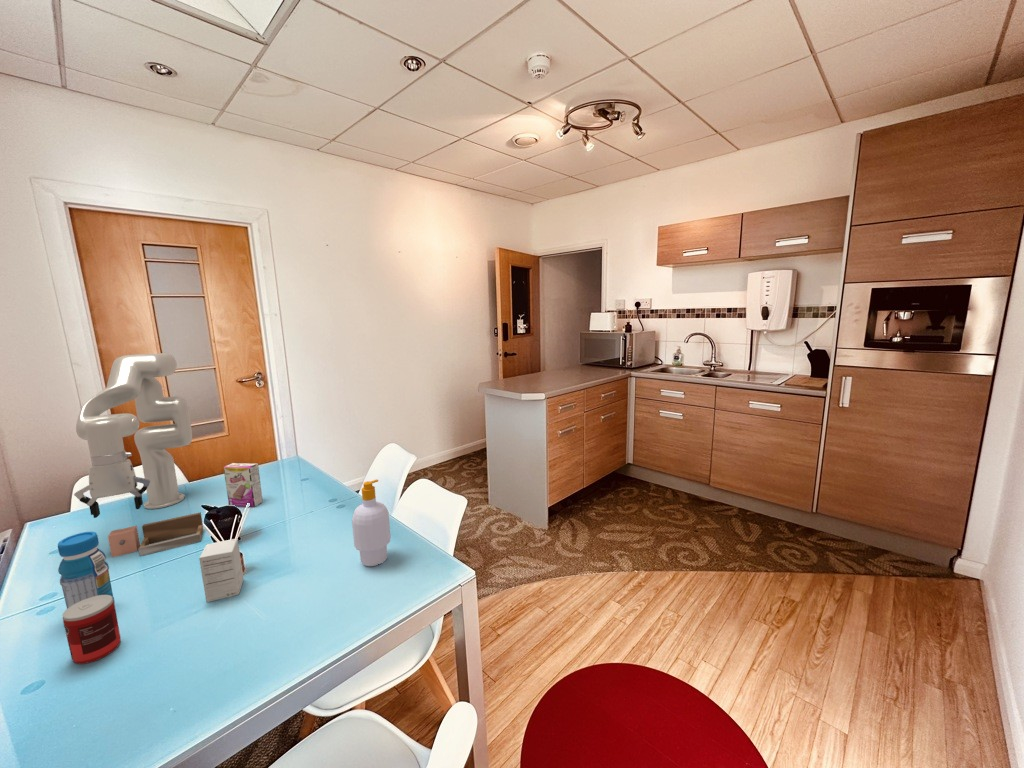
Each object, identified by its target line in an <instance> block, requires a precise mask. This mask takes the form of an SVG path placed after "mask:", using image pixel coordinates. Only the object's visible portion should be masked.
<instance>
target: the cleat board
mask: <svg viewBox="0 0 1024 768" xmlns="http://www.w3.org/2000/svg"><path fill="white" fill-rule="evenodd" d="M202 518H203V517H202V512H195V513H191V514H186V515H183V516H177V517H172V518H169V519H163V520H158V521H154V522H149V523H143V524H142V526H141V528H142V534H143V540H142V542H141V543H140V547H139V549H138V552H139V557H142V556H143V557H144V556H146V555H151V554H156V553H159V552H164V551H168V550H171V549H176V548H180V547H184V546H188V545H191V544H195V543H196V544H197V543H200V542H201V541H202V537H203V533H204V524H203V519H202Z"/></svg>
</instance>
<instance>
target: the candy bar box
mask: <svg viewBox="0 0 1024 768" xmlns="http://www.w3.org/2000/svg"><path fill="white" fill-rule="evenodd" d="M223 472H224V474H223V475H224V480H225V481H224V482H225V486H226V494H227V499H228V500H227V502H228V506H229V505H235V506H238V507H239V508H241V507H243V508H245V506H246V505H247V503H250V507H249V508H255V507H257V506H259V505H261V504H262V503H263V502H264V500H263V493H262V487H261V485H262V484H261V477H260V476H261V475H260V468H259V464H258V463H250V462H249V463H248V462H247V463H243V462H241V463H239V462H232V463H229V464H227V465H225V466H224V467H223ZM260 503H261V504H260Z"/></svg>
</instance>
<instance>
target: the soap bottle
mask: <svg viewBox="0 0 1024 768" xmlns="http://www.w3.org/2000/svg"><path fill="white" fill-rule="evenodd" d="M378 482H379V479H374V480H371V481H370V480H369V481H365V482H363V483H362V485H363V487H362V488H361V500H362V504H359V505H358V506H357V507H356V508H355V509H354V512H353V515H352V519H351V525H352V537H353V546H354V548H355V549H356V550H357V551H359V560H360V563H361V565H363V566H366V567H376V566H378V564H379V565H381V564H383V563H384V562H385V561H386V560H387V558H388V548H387V547H388V544H389V543H390V542H391V526H390V525H391V523H390V513H389V509H388V508H387V506H386V505H385V504H384V503H383V502H381V501H377V498H376V489H375V488H376V487H375V486H374V485H373V484H374V483H378ZM382 562H383V563H382Z"/></svg>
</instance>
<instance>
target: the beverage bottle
mask: <svg viewBox="0 0 1024 768" xmlns="http://www.w3.org/2000/svg"><path fill="white" fill-rule="evenodd" d="M99 542H100V541H99V536H98V533H97V532H95V531H84V532H79V533H76V534H72V535H69V536H67V537H65V538H63V539H61V540H60V541H58V543H57V550H58V554H59V556H60V557H61V558H62V560H61V561H60V563H59V566H58V569H57V571H58V572H57V573H58V574H59V575H60V577H59V584H60V586H61V589H62V592H63V598H64V601H65V607H66V609H68V608H69V607H70V606H72V605H74V604H76V603H78V602H80V601H82V600H84V599H87V598H90V597H94V596H99V595H110V596H112V598H113V601H114V604H115V603H116V601H115V596H114V593H113V588H112V582H111V576H110V571H109V569H110V567H109V564H108V562H107V561H106V559H107V556H106V554H105V553H104V551H103V550H101V549H100V548H99V546H100V545H99V544H100V543H99Z"/></svg>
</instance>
